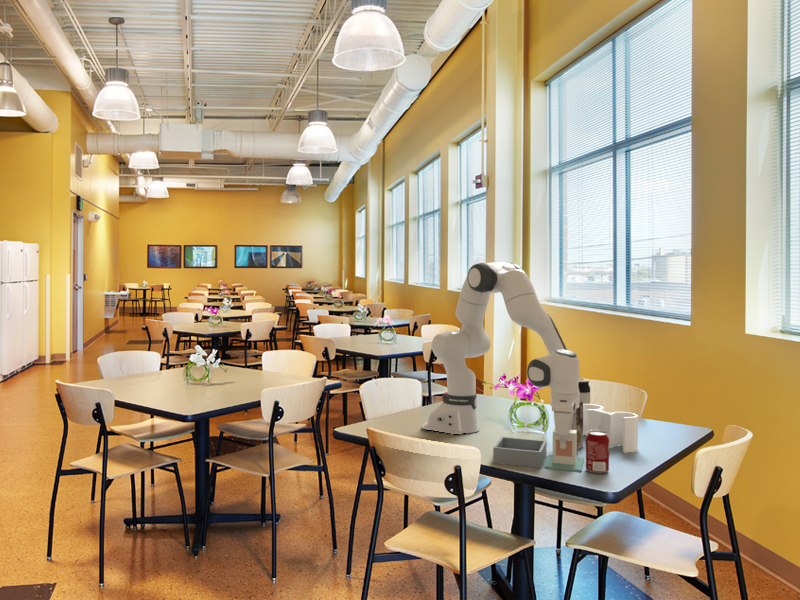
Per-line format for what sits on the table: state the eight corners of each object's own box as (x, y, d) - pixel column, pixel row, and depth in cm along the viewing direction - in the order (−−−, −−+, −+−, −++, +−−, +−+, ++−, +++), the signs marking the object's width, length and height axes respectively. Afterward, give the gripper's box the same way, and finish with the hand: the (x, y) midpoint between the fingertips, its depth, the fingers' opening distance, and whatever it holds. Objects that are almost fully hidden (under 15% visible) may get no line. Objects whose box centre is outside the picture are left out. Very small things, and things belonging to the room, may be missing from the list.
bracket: (644, 450, 204) (644, 415, 204) (625, 454, 199) (626, 418, 199) (587, 434, 226) (587, 402, 225) (569, 437, 221) (569, 405, 220)
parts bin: (493, 463, 190) (493, 447, 190) (501, 451, 203) (501, 436, 203) (541, 468, 184) (541, 452, 184) (546, 455, 198) (546, 440, 197)
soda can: (608, 475, 177) (608, 436, 177) (584, 473, 180) (585, 434, 179) (609, 469, 183) (609, 430, 183) (586, 466, 186) (586, 428, 185)
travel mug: (570, 424, 239) (571, 380, 239) (568, 420, 247) (569, 377, 247) (591, 425, 238) (591, 381, 237) (588, 421, 246) (588, 378, 245)
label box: (575, 465, 185) (575, 433, 185) (552, 462, 188) (552, 431, 188) (576, 461, 190) (576, 430, 189) (554, 458, 192) (554, 428, 192)
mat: (544, 468, 185) (544, 466, 185) (549, 456, 197) (549, 454, 197) (581, 471, 181) (581, 470, 181) (583, 459, 193) (583, 458, 193)
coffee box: (566, 443, 212) (566, 398, 212) (583, 446, 208) (583, 401, 207) (555, 449, 205) (555, 403, 204) (573, 452, 201) (573, 405, 200)
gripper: (558, 394, 199) (557, 435, 199) (551, 406, 180) (550, 451, 180) (577, 395, 197) (577, 436, 197) (572, 408, 178) (572, 453, 178)
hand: (564, 444), depth 189 cm, fingers open, 8 cm apart
